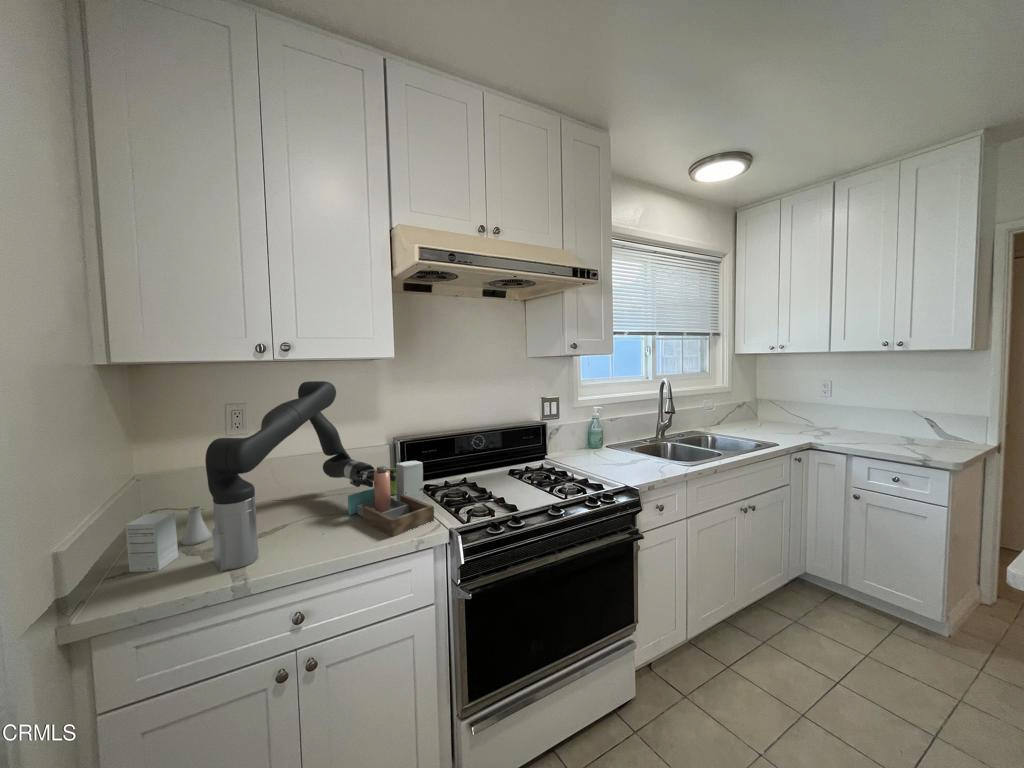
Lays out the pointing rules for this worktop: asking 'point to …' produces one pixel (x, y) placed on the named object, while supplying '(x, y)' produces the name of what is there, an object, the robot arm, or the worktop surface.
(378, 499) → the bottle
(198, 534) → the flask
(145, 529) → the supplement box
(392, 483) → the plant pot
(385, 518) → the wooden storage box
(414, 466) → the skincare box
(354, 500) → the tray
